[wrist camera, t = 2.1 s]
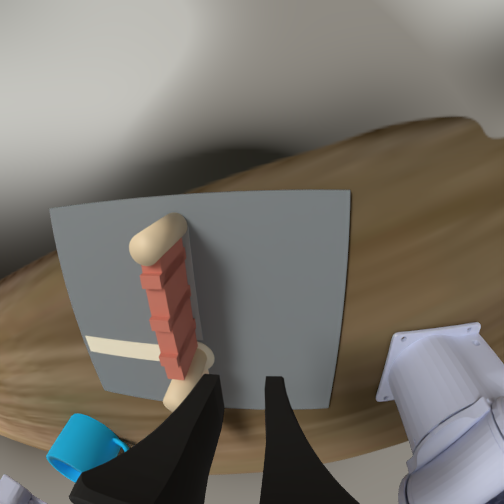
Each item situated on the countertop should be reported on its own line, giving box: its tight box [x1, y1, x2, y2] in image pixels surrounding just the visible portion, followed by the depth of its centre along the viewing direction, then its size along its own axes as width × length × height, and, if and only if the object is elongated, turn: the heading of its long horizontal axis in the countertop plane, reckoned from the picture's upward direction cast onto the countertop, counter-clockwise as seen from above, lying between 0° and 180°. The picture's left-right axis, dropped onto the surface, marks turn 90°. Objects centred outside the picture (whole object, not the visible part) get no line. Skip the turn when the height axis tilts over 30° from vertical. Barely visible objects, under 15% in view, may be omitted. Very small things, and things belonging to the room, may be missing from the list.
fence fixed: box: [163, 348, 207, 412], centre depth 22 cm, size 8×2×6 cm, turn 3°
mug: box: [46, 414, 130, 483], centre depth 27 cm, size 12×8×8 cm
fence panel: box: [129, 212, 198, 380], centre depth 19 cm, size 10×2×5 cm, turn 3°
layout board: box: [50, 190, 350, 409], centre depth 22 cm, size 23×20×1 cm
